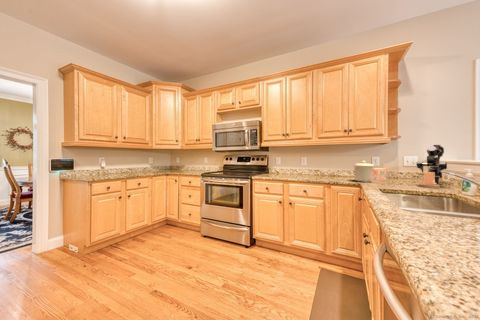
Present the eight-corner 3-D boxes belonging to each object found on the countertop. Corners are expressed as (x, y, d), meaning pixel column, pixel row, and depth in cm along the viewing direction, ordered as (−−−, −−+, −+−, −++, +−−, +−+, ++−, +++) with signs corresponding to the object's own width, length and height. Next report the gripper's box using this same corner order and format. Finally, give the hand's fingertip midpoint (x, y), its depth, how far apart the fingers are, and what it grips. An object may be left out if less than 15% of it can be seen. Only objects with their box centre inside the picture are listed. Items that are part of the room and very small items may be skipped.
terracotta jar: (425, 183, 177) (424, 171, 176) (436, 184, 171) (436, 172, 171) (422, 184, 172) (422, 172, 172) (434, 185, 167) (434, 172, 166)
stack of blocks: (364, 179, 223) (364, 168, 223) (362, 179, 229) (362, 168, 229) (386, 180, 219) (387, 168, 218) (384, 179, 225) (384, 168, 224)
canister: (378, 182, 199) (378, 160, 198) (359, 182, 199) (359, 161, 198) (367, 180, 217) (367, 160, 216) (349, 180, 217) (350, 160, 216)
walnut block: (421, 186, 180) (421, 182, 180) (440, 188, 171) (440, 184, 171) (418, 187, 173) (418, 184, 173) (437, 189, 163) (437, 185, 163)
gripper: (417, 152, 182) (414, 165, 175) (446, 152, 168) (444, 166, 161) (418, 161, 187) (415, 174, 181) (447, 161, 173) (445, 175, 166)
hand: (429, 172), depth 172 cm, fingers open, 9 cm apart
